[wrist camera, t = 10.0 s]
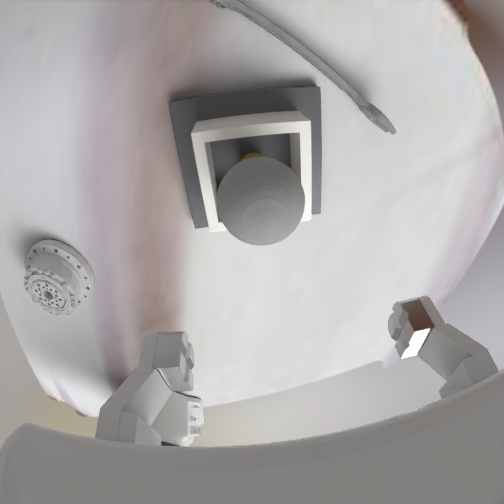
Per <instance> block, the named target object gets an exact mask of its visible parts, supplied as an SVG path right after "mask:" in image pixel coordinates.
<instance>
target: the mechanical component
mask: <svg viewBox="0 0 504 504" xmlns="http://www.w3.org/2000/svg"><path fill="white" fill-rule="evenodd" d="M25 264H26V270H27V273H26V274H25V277H24V282H25V283H24V286H25V287H26V292H29V294H30V295H31V297H32V298H33V302H35V303H36V302H37V303H38V304H39V305H41V306H42V307H43V309H44V310H45V311H47V310H49V312H50V313H53V312H55V314H56V315H59V313H60V314H67V315H69V313H70V312H72V311H73V310H74V309H75V307H76V306H77V305H80V304H83V303H85V302H86V301H87V300H88V299H89V298H90V296H91V294H92V292H93V289H94V275H93V272H92V270H91V268H90V266H89V264H88V263H87V262H86V261H85V259H84V258H83V257H82V256H81V255H80V254H79V253H78V252H77V251H76V250H74V249H73V248H72V247H70V246H68V245H66V244H64V243H62V242H60V241H56V240H49V239H46V240H41V241H38V242H37V243H35V244H34V245H33V246H32V248H31V249H30V250H29V252H28V254H27V256H26V260H25Z"/></svg>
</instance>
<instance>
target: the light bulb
mask: <svg viewBox="0 0 504 504" xmlns="http://www.w3.org/2000/svg"><path fill="white" fill-rule="evenodd" d="M304 207H305V194H304V190H303V187H302V185H301V183H300V181H299V179H298V177H297V175H296V174H295V173H294V172H293V171H292V169H290V168H289V167H288V166H286V165H285V164H283V163H281V162H280V161H278V160H275V159H272V158H268V157H262V156H261V155H260V154H258V153H249V154H247V155H245V156H244V157H243V158H242V159H241V161H240V162H239V163H237V164H236V165H234V166H233V167H232V168H231V169H230V170H229V171H228V172H227V173H226V175H225V176H224V178H223V179H222V181H221V183H220V185H219V188H218V192H217V210H218V214H219V217H220V219H221V221H222V223H223V224H224V226H225V227H226V228H227V230H228V231H229V232H230V233H231V234H232V235H233V236H235V237H236V238H238V239H239V240H241V241H243V242H245V243H248V244H252V245H270V244H274V243H277V242H279V241H281V240H283V239H285V238H286V237H288V236H289V235H290V234H291V233H292V232H293V231H294V230H295V229H296V227H297V226H298V224H299V223H300V221H301V219H302V216H303V213H304Z"/></svg>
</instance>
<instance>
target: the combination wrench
mask: <svg viewBox="0 0 504 504" xmlns="http://www.w3.org/2000/svg"><path fill="white" fill-rule="evenodd" d="M203 1H205V2H209V1H210V2H211V3H213V4H214V5H216V6H217V7H220V8H229V9H232V10H234V11H237V12H239V13H241V14H243V15H245V16H246V17H247V18H248V19H250V20H251V21H253V22H254V23H256V24H258V25H259V26H261V27H262V28H264V29H265V30H267V31H268V32H269V33H271V34H272V35H274V36H275V37H277V38H278V39H279V40H281V41H282V42H284V43H285V44H286V45H288V46H289V47H290V48H292V49H293V50H294V51H296V52H297V53H298V54H300V55H301V56H302V57H303V58H305V59H306V60H307V61H309V62H310V63H311V64H312V65H313V66H315V67H316V68H317V69H318V70H319V71H321V72H322V73H323V74H324V75H325V76H327V77H328V78H329V79H330V80H331V81H332V82H333V83H335V84H336V85H337V86H338V87H339V88H340V89H342V90H343V91H345V92H346V93H347V94H348V95H349V96H350V97H351V98H352V99H353V100H354V101H355V103H356V104H357V105H358V106H359V109H360V110H361V111H362V112H363V113H364V114H365V115H366V117H367V118H368V119H369V120H370V121H371V122H373V123H374V124H375V125H376V126H378V127H379V128H380V129H382V130H383V131H385V132H388V131H389V132H390V133H391V134H393V135H394V134H395V133H396V130H395V128H394V126H393V125H392V123H391V122H390V121H389V119H388V118H387V117H386V116H385V115H384V114H383V113H382V112H381V111H380V110H379V109H377V108H376V107H375V106H374V105H372V104H370V103H369V102H367V101H366V100H365V99H364V98H363V97H362V96H360V95H359V94H358V93H357V92H356V91H355V90H354V89H353V88H352V87H351V86H350V85H349V83H348V82H347V81H346V80H344V79H343V78H342V77H341V76H340V75H339V74H338V73H337V72H336V71H334V70H333V69H332V68H331V67H330V66H329V65H328V64H326V63H325V62H324V61H323V60H322V59H320V58H319V57H318V56H317V55H316V54H314V53H313V52H312V51H311V50H309V49H308V48H307V47H306V46H304V45H303V44H302V43H300V42H299V41H298V40H297V39H295V38H294V37H293V36H291V35H290V34H288V33H287V32H286V31H284V30H283V29H282V28H280V27H279V26H277V25H276V24H274V23H273V22H271V21H270V20H268V19H267V18H265V17H264V16H262V15H261V14H259V13H258V12H256V11H254V10H252V9H251V8H249V7H248V6H246V5H244V4H243V3H241V2H239V1H238V0H203Z"/></svg>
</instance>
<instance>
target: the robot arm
mask: <svg viewBox="0 0 504 504" xmlns="http://www.w3.org/2000/svg"><path fill="white" fill-rule="evenodd" d="M393 311H394V312H393V313H392V314H391V315H390V317H389V320H388V330H389V333H390V336H391V338H393V339H394V340H395V341H396V345H395V347H396V349H397V352H398V354H399V356H400V359H402V358H406V357H410V356H414V355H417V354H418V356H419V357H420V358H421V359H422V360H423V361H424V362H425V363H427V364H428V365H429V366H430V367H431V368H432V369H433V370H435V371H436V372H437V373H438V374H439V375H440V376H441V377H442V378H444V379H445V380H446V382H445V383H444V384H443V385H442V386H441V388H440V390H439V393H440V395H441V398H442V399H441V400H438V401H436V402H433V403H431V404H428V405H426V406H423V407H421V408H418V409H415V410H412V411H409V412H406V413H404V414H400V415H397V416H394V417H391V418H388V419H384V420H381V421H378V422H374V423H371V424H367V425H363V426H360V427H355V428H351V429H347V430H343V431H339V432H334V433H329V434H324V435H319V436H314V437H308V438H301V439H296V440H288V441H281V442H272V443H263V444H253V445H239V446H216V447H188V446H189V445H190V444H191V443H192V442H193V441H194V436H200V427H199V425H203V424H204V417H203V411H202V410H203V409H202V401H201V400H200V399H197V398H193V397H187V396H184V395H182V394H179V393H177V392H174V391H193V377H194V376H193V374H192V372H191V369H192V368H193V367H194V352H193V348H192V345H191V343H189V342H188V336H187V333H186V331H183V332H153V333H147V334H146V336H145V339H144V344H143V349H142V355H141V360H140V365H139V368H138V369H135V370H134V371H133V372H132V373H131V374H130V375H129V377H128V378H127V379H126V380H125V381H124V382H123V383H122V384H121V386H120V387H119V388H118V389H117V390H116V391H115V392H114V393H113V395H112V396H111V397H110V398H109V399H108V400H107V401H106V402H105V404H104V405H103V406H102V407H101V408H100V413H99V419H98V424H97V430H96V436H95V438H92V437H86V436H81V435H76V434H71V433H67V432H63V431H58V430H54V429H50V428H47V427H43V426H39V425H36V424H32V423H24V424H23V425H21V426H20V427H19V428H18V429H17V430H15V431H14V432H13V433H12V434H11V435H10V436H9V437H8V438H7V439H6V441H5V442H4V443H3V445H2V448H1V450H0V504H504V369H502V370H501V371H498V369H497V367H496V365H495V363H494V361H493V359H492V357H491V355H490V354H489V352H488V350H487V348H485V347H484V346H482V345H481V344H479V343H478V342H476V341H475V340H473V339H472V338H470V337H469V336H467V335H465V334H464V333H462V332H461V331H459V330H458V329H456V328H455V327H453V326H452V325H450V324H448V323H447V324H445V322H444V321H443V319H442V317H441V316H440V314H439V312H438V311H437V309H436V307H435V306H434V304H433V302H432V301H431V299H430V298H429V297H428V296H422V297H418V298H412V299H408V300H404V301H399V302H396V303H395V304H394V306H393Z"/></svg>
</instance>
